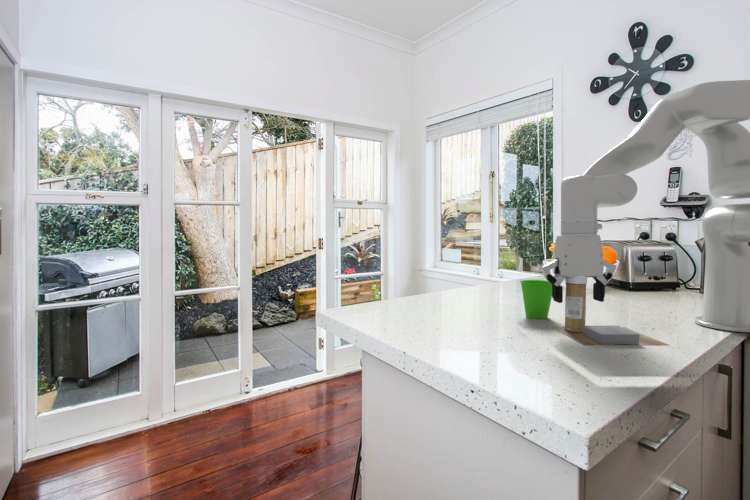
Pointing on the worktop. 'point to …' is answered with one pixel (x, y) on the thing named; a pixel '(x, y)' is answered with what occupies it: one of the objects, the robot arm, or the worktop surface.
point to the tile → (611, 334)
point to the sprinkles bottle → (575, 304)
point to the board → (588, 341)
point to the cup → (536, 298)
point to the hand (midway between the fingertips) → (578, 301)
